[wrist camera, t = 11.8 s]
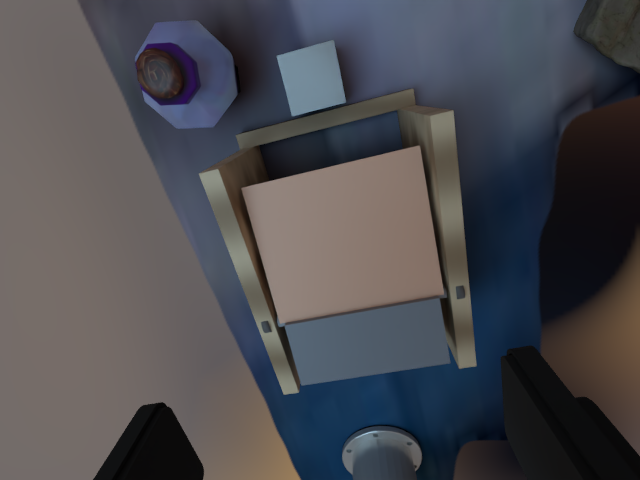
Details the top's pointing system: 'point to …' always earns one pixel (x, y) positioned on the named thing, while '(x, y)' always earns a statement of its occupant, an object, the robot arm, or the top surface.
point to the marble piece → (612, 29)
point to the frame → (444, 198)
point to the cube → (312, 78)
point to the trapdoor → (353, 266)
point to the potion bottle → (186, 74)
